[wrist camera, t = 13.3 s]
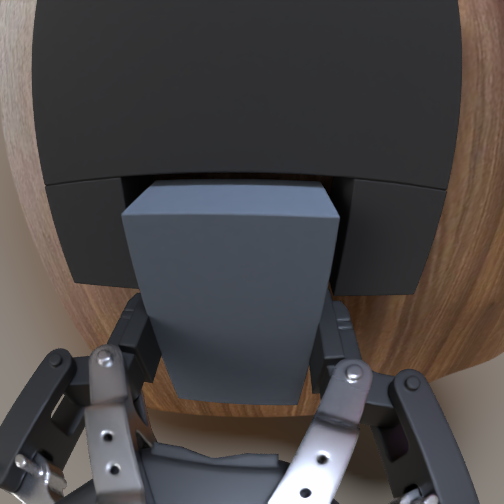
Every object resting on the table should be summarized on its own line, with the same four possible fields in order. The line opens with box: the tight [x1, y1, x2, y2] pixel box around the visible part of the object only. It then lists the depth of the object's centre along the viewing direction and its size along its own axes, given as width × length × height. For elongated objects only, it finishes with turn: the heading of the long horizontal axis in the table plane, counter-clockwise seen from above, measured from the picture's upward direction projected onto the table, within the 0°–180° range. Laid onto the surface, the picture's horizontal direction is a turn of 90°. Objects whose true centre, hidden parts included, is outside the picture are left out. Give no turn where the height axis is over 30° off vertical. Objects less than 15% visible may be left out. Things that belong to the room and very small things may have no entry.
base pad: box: [32, 0, 462, 296], centre depth 9 cm, size 16×14×3 cm
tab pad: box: [121, 179, 340, 405], centre depth 11 cm, size 6×10×3 cm, turn 0°
